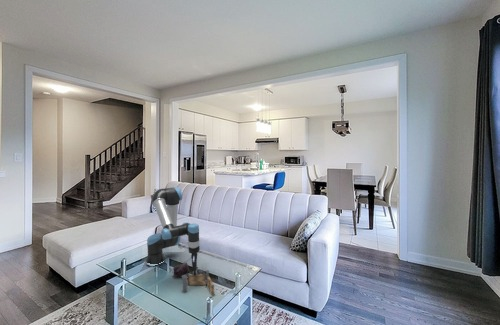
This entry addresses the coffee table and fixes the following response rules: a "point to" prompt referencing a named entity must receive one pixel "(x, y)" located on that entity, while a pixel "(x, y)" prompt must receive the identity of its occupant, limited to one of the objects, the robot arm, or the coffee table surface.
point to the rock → (181, 270)
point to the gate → (196, 279)
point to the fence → (210, 285)
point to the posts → (184, 281)
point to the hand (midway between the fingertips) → (195, 278)
